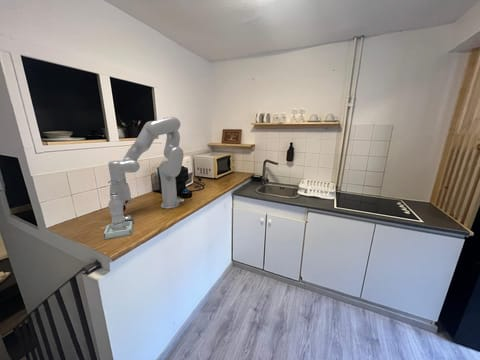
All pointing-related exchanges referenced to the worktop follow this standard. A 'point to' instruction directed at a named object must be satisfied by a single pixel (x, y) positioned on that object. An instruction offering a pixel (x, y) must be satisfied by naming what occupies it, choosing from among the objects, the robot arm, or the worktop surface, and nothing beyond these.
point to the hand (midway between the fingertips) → (123, 211)
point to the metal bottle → (117, 212)
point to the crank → (127, 218)
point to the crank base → (127, 221)
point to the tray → (111, 234)
